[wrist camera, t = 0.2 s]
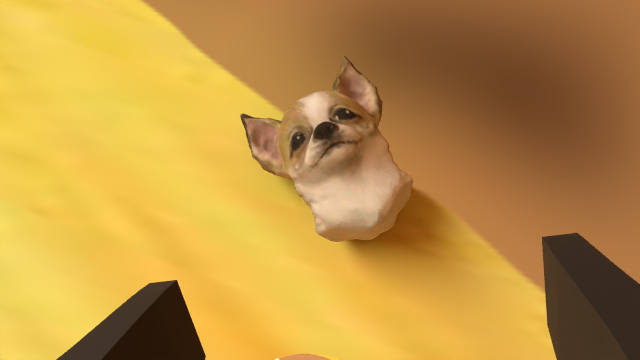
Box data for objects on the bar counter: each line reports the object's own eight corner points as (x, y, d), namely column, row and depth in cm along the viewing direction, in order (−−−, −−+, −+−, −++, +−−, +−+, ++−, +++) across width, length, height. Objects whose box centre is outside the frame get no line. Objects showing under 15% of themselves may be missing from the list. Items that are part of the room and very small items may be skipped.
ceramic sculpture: (296, 258, 36) (205, 78, 43) (326, 292, 44) (245, 136, 51) (453, 169, 36) (338, 4, 43) (455, 219, 44) (357, 73, 51)
